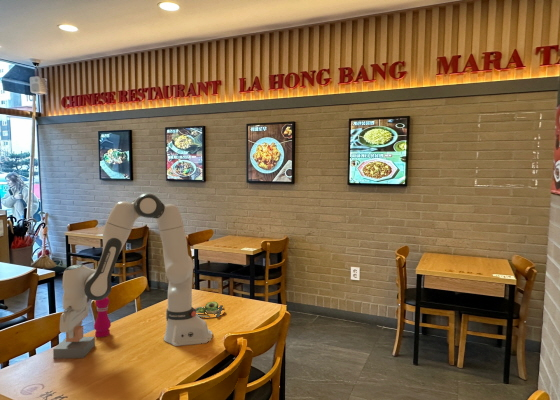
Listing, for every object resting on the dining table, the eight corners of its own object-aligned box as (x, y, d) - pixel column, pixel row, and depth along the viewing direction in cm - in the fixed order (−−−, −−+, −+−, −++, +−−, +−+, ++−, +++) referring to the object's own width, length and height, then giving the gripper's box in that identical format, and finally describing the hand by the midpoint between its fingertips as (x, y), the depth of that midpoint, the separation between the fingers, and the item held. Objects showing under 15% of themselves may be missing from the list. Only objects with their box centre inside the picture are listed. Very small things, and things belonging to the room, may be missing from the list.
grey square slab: (94, 345, 172) (94, 336, 172) (83, 357, 160) (83, 348, 160) (66, 345, 171) (66, 337, 171) (53, 358, 159) (53, 349, 159)
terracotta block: (83, 336, 168) (83, 325, 168) (78, 341, 163) (78, 330, 163) (71, 337, 168) (71, 325, 167) (66, 341, 163) (65, 330, 162)
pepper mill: (104, 338, 180) (104, 296, 179) (90, 336, 181) (90, 295, 180) (113, 332, 187) (113, 291, 186) (100, 330, 188) (100, 290, 187)
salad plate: (232, 317, 211) (232, 309, 211) (200, 322, 203) (200, 314, 203) (220, 306, 228) (220, 299, 228) (190, 311, 220) (190, 303, 220)
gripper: (71, 311, 155) (71, 344, 155) (91, 295, 175) (91, 325, 176) (54, 311, 154) (55, 345, 155) (77, 295, 174) (77, 325, 175)
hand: (75, 334), depth 165 cm, fingers closed on terracotta block, 5 cm apart
